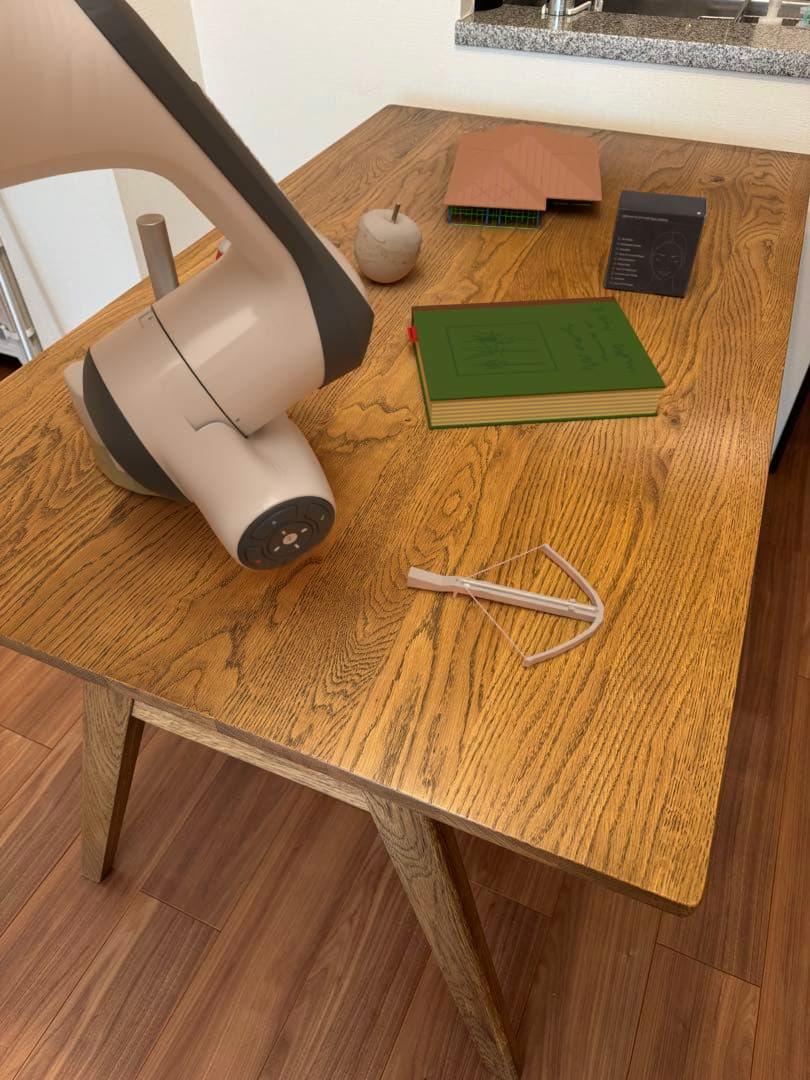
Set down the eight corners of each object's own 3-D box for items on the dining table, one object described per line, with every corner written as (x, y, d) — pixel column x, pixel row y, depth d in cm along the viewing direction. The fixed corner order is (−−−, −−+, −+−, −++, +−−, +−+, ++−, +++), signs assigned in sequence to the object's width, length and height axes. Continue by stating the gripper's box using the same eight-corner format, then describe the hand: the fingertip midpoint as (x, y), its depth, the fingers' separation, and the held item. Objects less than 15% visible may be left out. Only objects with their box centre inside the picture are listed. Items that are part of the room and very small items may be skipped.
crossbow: (603, 569, 68) (609, 553, 66) (593, 689, 59) (600, 673, 58) (424, 531, 70) (426, 514, 68) (389, 641, 61) (390, 625, 59)
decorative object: (341, 277, 104) (337, 202, 97) (391, 258, 108) (390, 184, 101) (384, 302, 99) (382, 224, 92) (434, 280, 103) (437, 204, 96)
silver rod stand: (191, 473, 74) (132, 246, 58) (152, 440, 77) (88, 218, 62) (252, 441, 77) (212, 219, 61) (212, 411, 81) (165, 194, 65)
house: (593, 154, 136) (602, 102, 130) (599, 235, 113) (609, 177, 107) (462, 147, 138) (465, 96, 133) (442, 226, 115) (443, 168, 110)
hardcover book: (608, 324, 95) (614, 296, 93) (657, 416, 82) (666, 386, 80) (405, 335, 94) (405, 306, 91) (422, 429, 81) (422, 399, 78)
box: (686, 276, 104) (708, 196, 97) (685, 299, 100) (707, 217, 92) (606, 266, 106) (621, 187, 99) (601, 288, 102) (616, 208, 94)
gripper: (340, 342, 61) (280, 269, 70) (72, 410, 55) (44, 321, 64) (345, 408, 66) (288, 332, 75) (98, 478, 59) (68, 386, 68)
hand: (173, 327), depth 69 cm, fingers closed on silver rod stand, 2 cm apart
